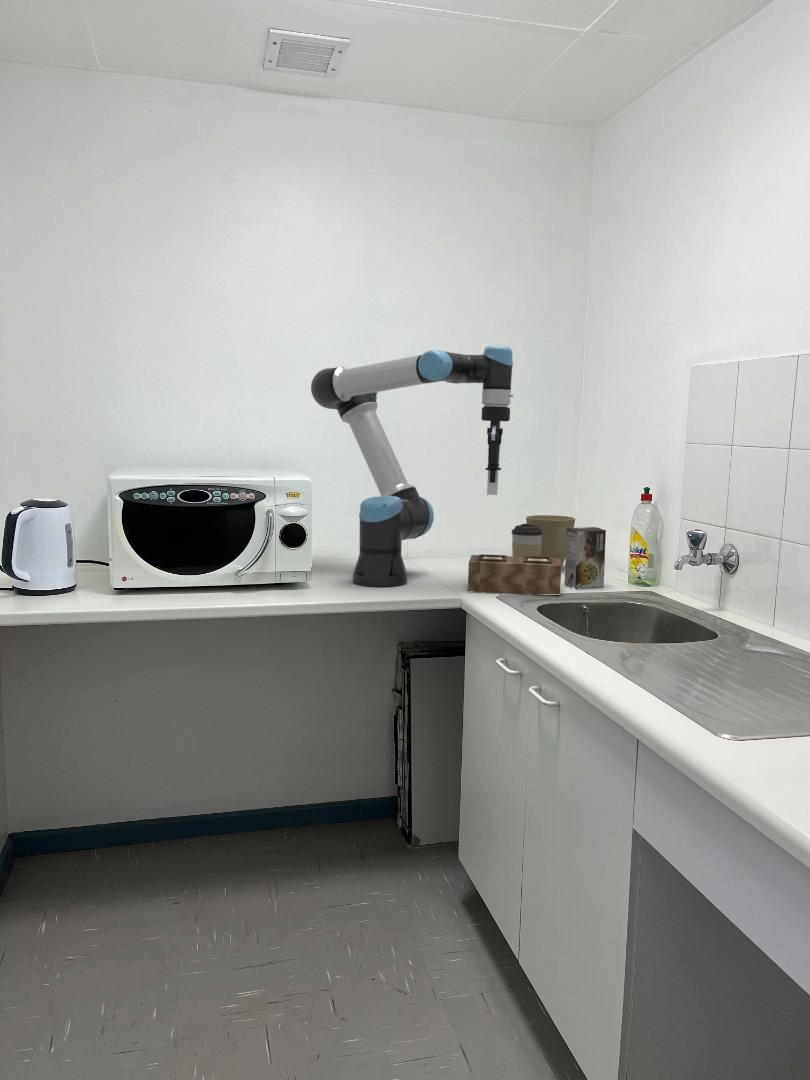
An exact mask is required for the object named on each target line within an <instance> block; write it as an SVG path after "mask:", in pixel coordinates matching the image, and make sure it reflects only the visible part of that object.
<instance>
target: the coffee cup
mask: <svg viewBox="0 0 810 1080" xmlns="http://www.w3.org/2000/svg"><path fill="white" fill-rule="evenodd" d="M542 532H543V531H542V530H540V528H539V527H538V526H532V525H530V524H527V523H522V524H519V525H515V526H514V528H513V529H511V537H512V541H511V548H512V549H511V550H512V551H511V552H512V555H511V556H513V557H523V556H535V557H540V553H541V544H542V543H541V539H542V535H543V534H542Z"/></svg>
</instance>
